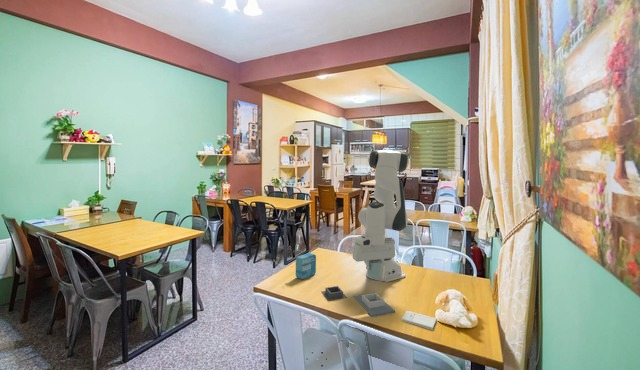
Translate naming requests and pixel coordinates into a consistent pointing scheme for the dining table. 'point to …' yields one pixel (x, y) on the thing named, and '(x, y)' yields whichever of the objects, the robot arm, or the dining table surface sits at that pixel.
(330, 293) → the dark grey square box
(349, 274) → the dining table surface
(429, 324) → the external hard drive
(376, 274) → the plug
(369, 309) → the dock
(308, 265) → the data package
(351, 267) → the dining table surface
